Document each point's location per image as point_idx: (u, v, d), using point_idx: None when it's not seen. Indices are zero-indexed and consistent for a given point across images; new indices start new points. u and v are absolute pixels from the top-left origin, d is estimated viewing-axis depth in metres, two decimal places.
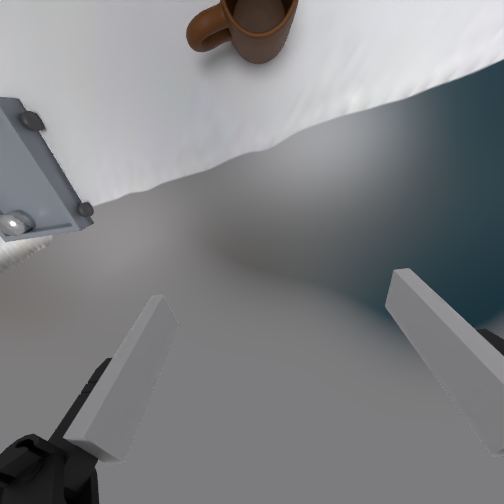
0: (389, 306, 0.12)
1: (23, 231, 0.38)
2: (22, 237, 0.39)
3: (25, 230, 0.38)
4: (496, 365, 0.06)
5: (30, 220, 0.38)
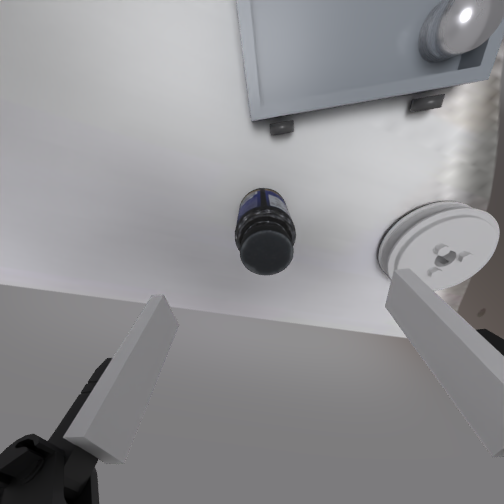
0: (389, 306, 0.12)
1: None
2: None
3: None
4: (496, 365, 0.06)
5: None
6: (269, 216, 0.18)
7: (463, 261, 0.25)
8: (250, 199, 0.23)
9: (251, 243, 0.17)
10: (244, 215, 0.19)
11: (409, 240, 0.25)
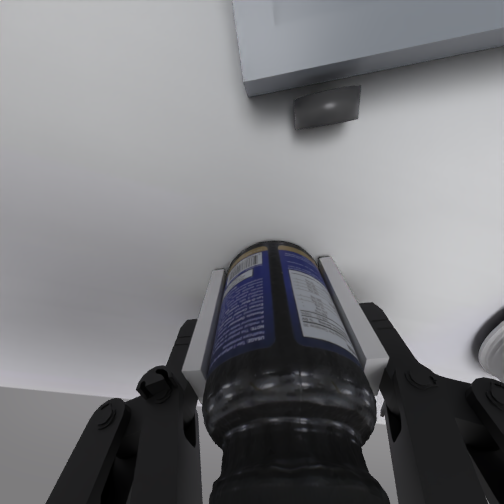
0: None
1: None
2: None
3: None
4: (358, 325, 0.08)
5: None
6: (307, 403, 0.05)
7: None
8: (246, 283, 0.09)
9: None
10: (226, 370, 0.06)
11: None
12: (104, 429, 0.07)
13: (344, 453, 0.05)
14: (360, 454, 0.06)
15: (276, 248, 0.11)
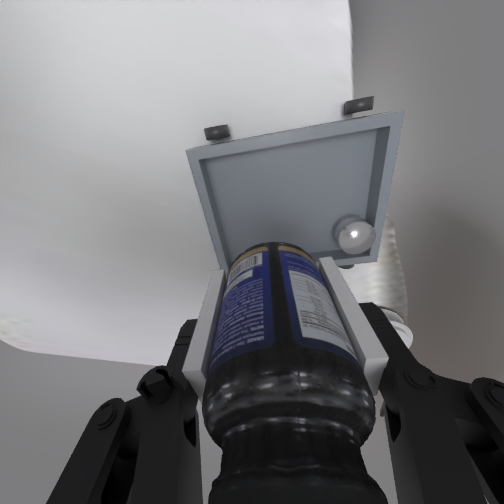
0: None
1: (370, 225, 0.23)
2: (378, 233, 0.24)
3: (368, 224, 0.24)
4: (358, 324, 0.08)
5: (352, 215, 0.25)
6: (306, 402, 0.05)
7: None
8: (246, 283, 0.10)
9: None
10: (225, 370, 0.06)
11: None
12: (104, 429, 0.07)
13: (342, 453, 0.05)
14: (358, 454, 0.06)
15: (276, 248, 0.11)
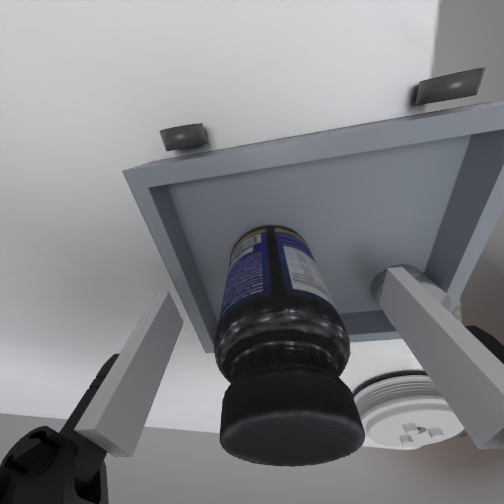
0: (383, 304, 0.12)
1: (441, 290, 0.14)
2: (452, 300, 0.15)
3: (437, 286, 0.15)
4: (482, 360, 0.07)
5: (407, 269, 0.15)
6: (294, 330, 0.07)
7: (433, 438, 0.25)
8: (248, 256, 0.11)
9: (249, 430, 0.06)
10: (233, 314, 0.08)
11: (378, 416, 0.25)
12: None
13: (321, 363, 0.07)
14: (334, 369, 0.07)
15: (273, 230, 0.13)
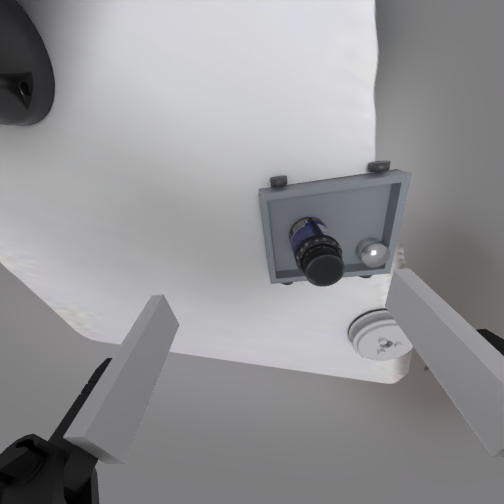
0: (389, 306, 0.12)
1: (386, 247, 0.32)
2: (392, 252, 0.32)
3: (384, 245, 0.32)
4: (496, 365, 0.06)
5: (372, 238, 0.33)
6: (325, 243, 0.25)
7: (396, 347, 0.42)
8: (303, 227, 0.29)
9: (315, 263, 0.24)
10: (304, 241, 0.26)
11: (363, 334, 0.42)
12: None
13: None
14: None
15: (311, 218, 0.31)
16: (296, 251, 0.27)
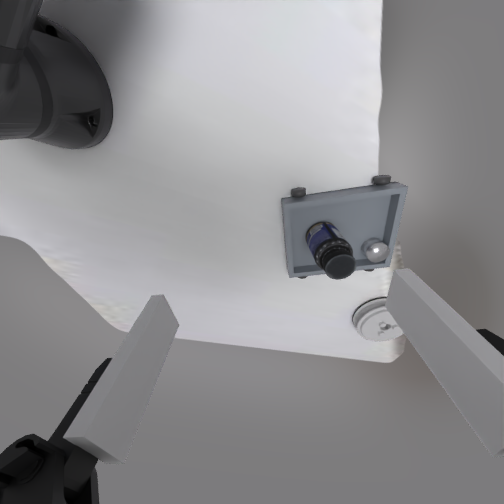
0: (389, 306, 0.12)
1: (386, 245, 0.38)
2: (391, 250, 0.39)
3: (385, 244, 0.39)
4: (496, 365, 0.06)
5: (374, 238, 0.40)
6: (340, 245, 0.32)
7: (394, 329, 0.49)
8: (320, 231, 0.36)
9: (333, 261, 0.30)
10: (323, 243, 0.33)
11: (366, 318, 0.49)
12: None
13: (346, 251, 0.31)
14: None
15: (325, 223, 0.37)
16: (315, 251, 0.34)
